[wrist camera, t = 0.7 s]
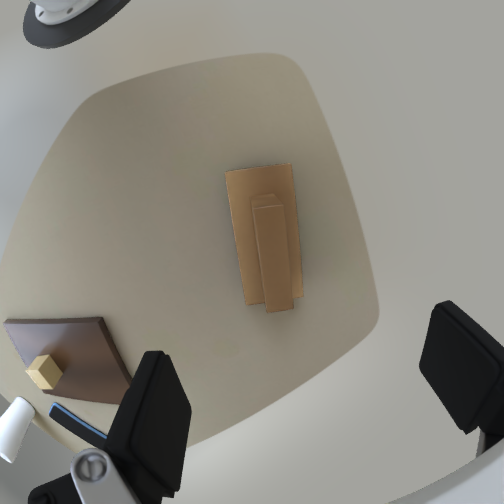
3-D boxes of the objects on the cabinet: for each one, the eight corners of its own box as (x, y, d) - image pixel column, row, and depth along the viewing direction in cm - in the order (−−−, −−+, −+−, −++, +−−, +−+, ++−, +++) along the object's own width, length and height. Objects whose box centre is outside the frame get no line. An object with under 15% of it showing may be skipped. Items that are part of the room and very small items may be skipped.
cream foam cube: (36, 356, 28) (25, 370, 24) (49, 354, 27) (37, 369, 24) (50, 374, 29) (40, 389, 26) (63, 373, 29) (53, 389, 25)
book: (6, 319, 27) (2, 323, 26) (102, 316, 27) (97, 322, 26) (46, 388, 32) (43, 393, 31) (143, 400, 31) (141, 406, 30)
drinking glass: (13, 398, 34) (-15, 442, 20) (16, 388, 33) (-16, 437, 18) (36, 418, 36) (11, 465, 21) (41, 410, 34) (13, 462, 20)
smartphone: (52, 403, 32) (123, 448, 35) (54, 400, 33) (124, 445, 36) (47, 416, 33) (111, 456, 37) (49, 413, 34) (112, 453, 38)
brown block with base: (245, 289, 26) (247, 340, 19) (226, 170, 23) (219, 176, 15) (297, 282, 26) (317, 330, 19) (285, 162, 22) (306, 165, 15)
